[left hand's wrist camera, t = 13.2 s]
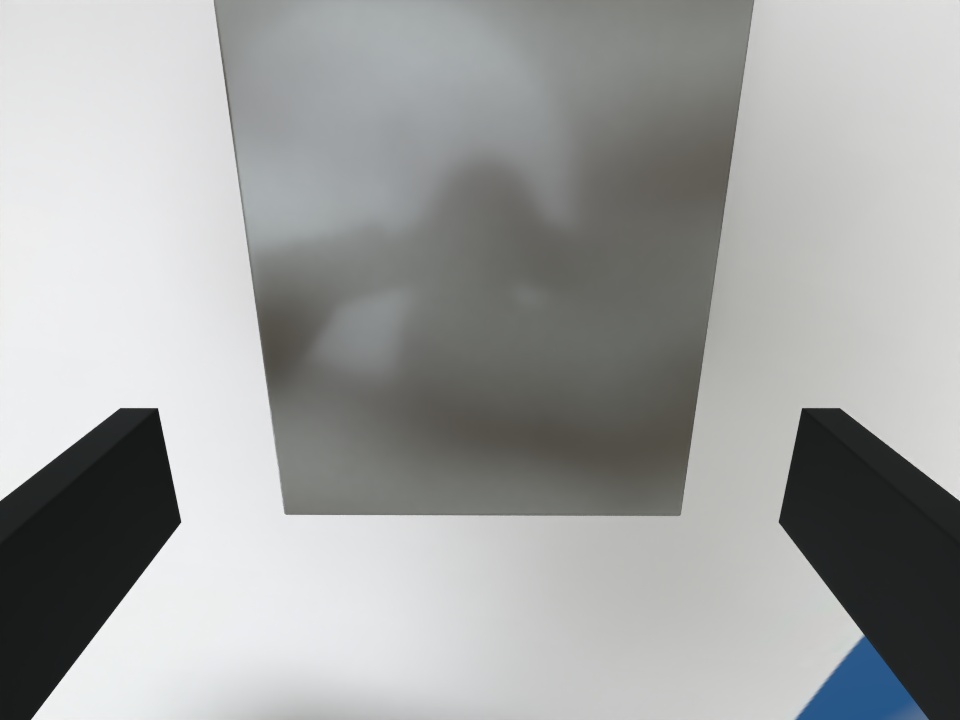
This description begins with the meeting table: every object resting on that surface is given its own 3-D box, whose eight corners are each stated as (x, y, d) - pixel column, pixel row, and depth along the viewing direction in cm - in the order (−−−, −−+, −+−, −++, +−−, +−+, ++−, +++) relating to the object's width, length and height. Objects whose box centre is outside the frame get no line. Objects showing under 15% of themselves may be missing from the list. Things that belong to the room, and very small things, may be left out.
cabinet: (317, -179, 21) (142, -498, 10) (650, -180, 21) (827, -501, 10) (359, 365, 29) (283, 515, 18) (605, 366, 29) (681, 517, 18)
